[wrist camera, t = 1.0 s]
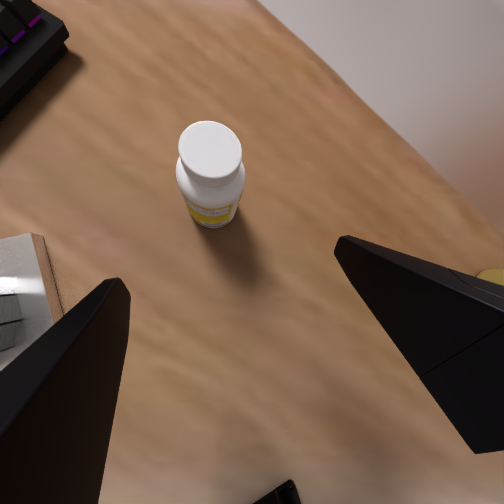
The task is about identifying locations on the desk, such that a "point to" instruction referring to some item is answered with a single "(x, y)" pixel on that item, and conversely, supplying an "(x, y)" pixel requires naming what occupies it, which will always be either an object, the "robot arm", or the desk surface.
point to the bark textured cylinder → (492, 276)
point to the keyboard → (26, 49)
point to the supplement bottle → (210, 172)
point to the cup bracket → (25, 294)
